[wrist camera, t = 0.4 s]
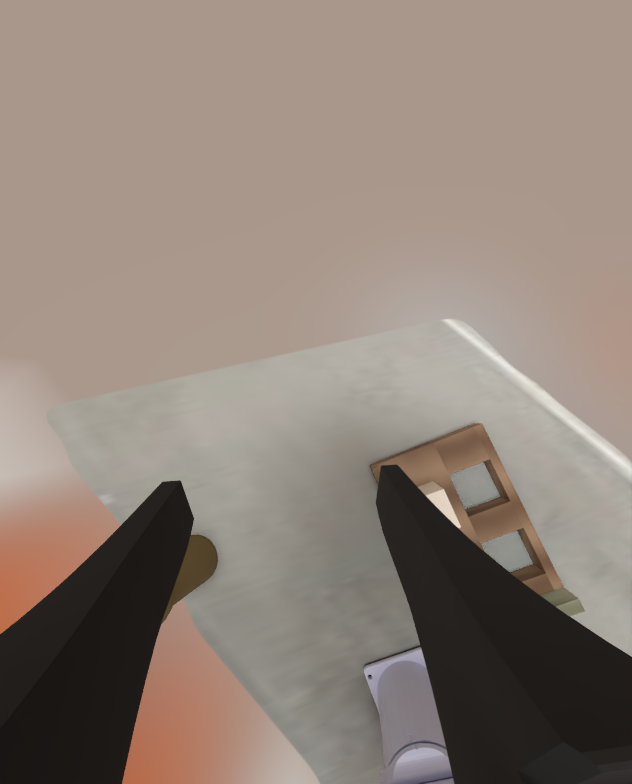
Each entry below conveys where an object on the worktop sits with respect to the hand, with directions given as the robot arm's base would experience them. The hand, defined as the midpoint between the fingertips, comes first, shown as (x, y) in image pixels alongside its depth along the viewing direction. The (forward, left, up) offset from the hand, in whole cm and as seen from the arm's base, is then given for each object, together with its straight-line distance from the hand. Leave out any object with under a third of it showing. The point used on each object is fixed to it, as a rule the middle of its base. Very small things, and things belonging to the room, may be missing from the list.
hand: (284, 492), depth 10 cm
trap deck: (-14, -11, -27) cm, 32 cm away
